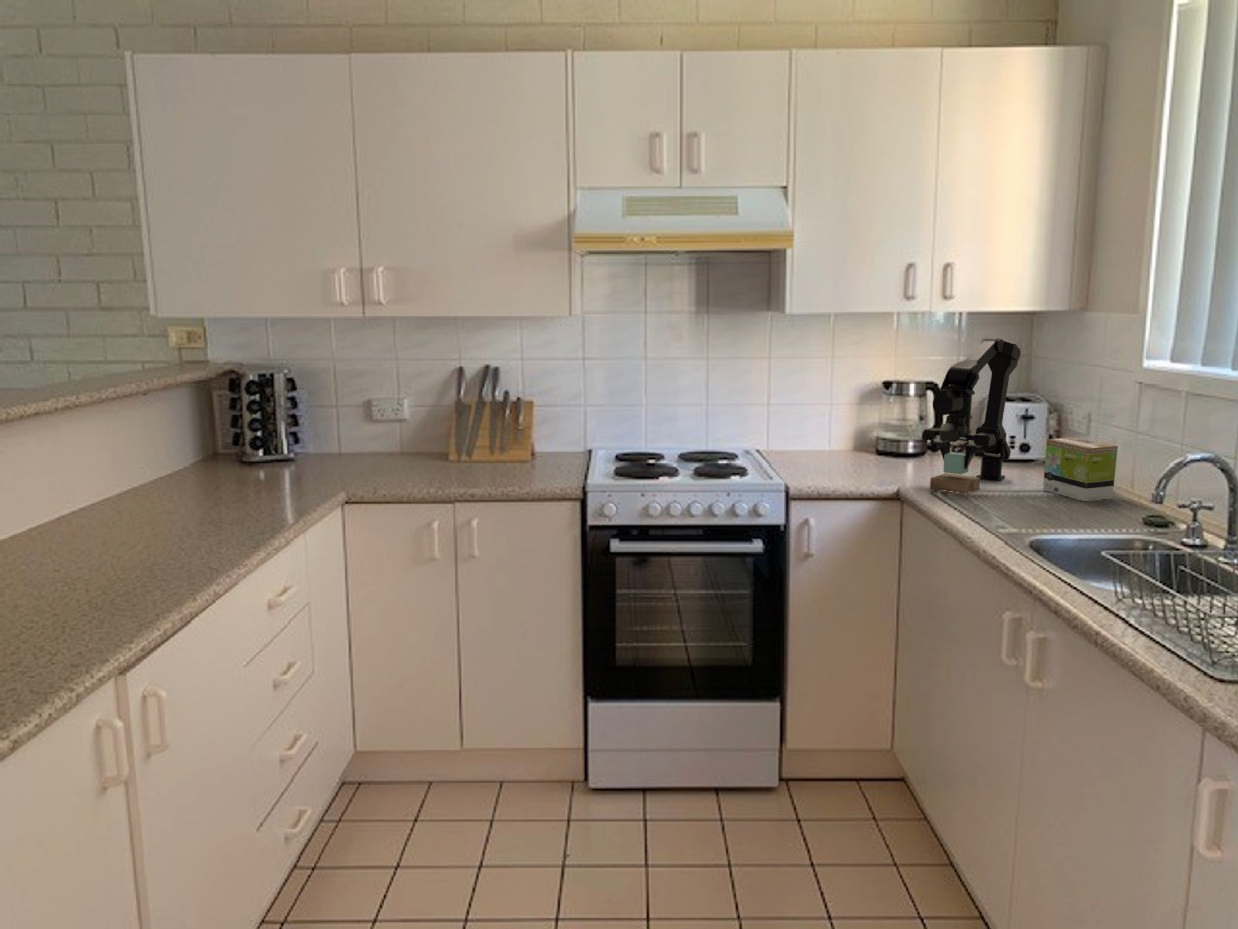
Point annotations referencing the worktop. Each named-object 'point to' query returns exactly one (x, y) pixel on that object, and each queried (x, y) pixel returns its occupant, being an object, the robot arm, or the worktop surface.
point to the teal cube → (954, 463)
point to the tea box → (1080, 468)
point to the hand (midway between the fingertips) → (956, 467)
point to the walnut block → (954, 483)
